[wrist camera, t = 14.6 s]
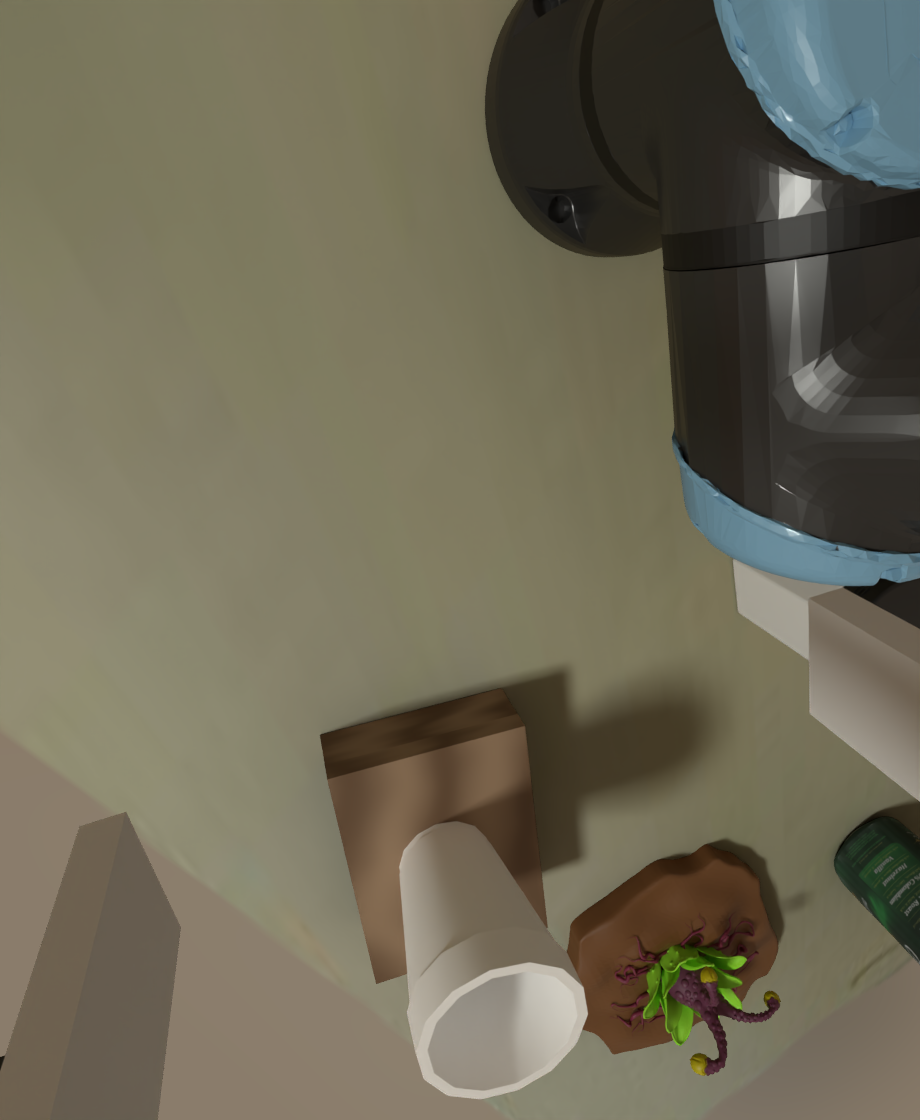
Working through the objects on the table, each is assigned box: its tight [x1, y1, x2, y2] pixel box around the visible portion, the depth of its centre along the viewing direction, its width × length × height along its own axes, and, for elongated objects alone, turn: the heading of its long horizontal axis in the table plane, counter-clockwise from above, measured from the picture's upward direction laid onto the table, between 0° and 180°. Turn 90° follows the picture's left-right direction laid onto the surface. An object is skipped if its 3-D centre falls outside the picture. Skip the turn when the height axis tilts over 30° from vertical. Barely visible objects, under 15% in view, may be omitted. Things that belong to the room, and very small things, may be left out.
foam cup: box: [399, 821, 588, 1099], centre depth 46 cm, size 10×9×13 cm
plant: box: [567, 844, 781, 1076], centre depth 63 cm, size 20×20×11 cm
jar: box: [733, 559, 920, 660], centre depth 51 cm, size 9×8×12 cm
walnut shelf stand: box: [320, 688, 548, 984], centre depth 54 cm, size 13×18×5 cm
